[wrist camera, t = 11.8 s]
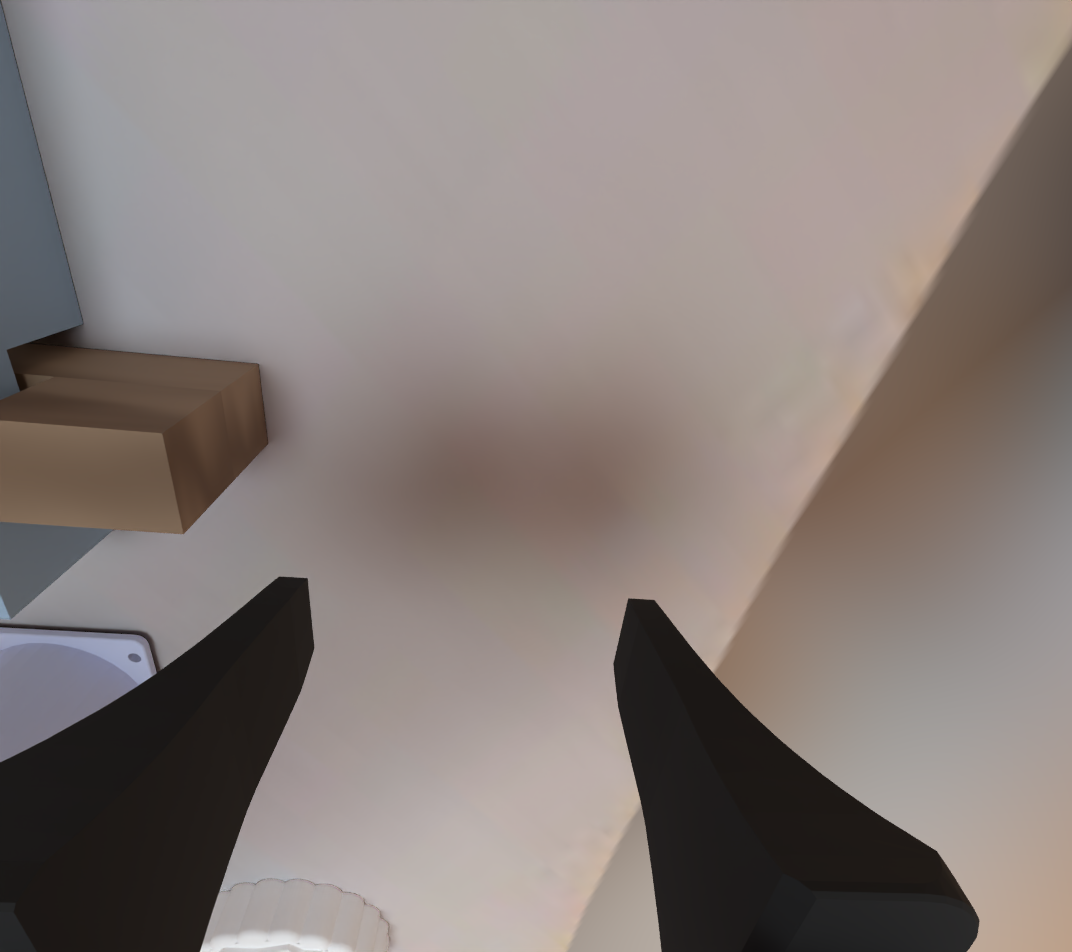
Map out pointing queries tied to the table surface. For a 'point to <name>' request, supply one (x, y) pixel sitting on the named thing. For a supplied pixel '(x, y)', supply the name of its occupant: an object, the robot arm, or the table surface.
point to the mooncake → (293, 920)
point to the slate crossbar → (30, 324)
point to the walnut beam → (124, 437)
